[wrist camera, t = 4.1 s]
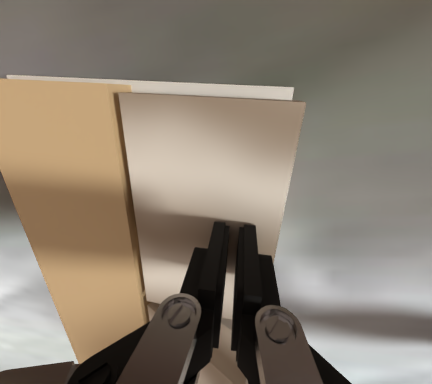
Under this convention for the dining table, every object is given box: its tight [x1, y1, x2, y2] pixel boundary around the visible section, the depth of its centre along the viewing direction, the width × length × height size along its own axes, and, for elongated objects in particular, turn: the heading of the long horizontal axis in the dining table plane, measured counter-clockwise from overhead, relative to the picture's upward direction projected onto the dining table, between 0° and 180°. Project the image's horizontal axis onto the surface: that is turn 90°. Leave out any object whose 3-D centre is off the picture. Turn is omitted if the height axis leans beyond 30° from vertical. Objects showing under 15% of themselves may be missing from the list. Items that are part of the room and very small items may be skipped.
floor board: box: [0, 75, 294, 364], centre depth 15 cm, size 25×14×4 cm, turn 178°
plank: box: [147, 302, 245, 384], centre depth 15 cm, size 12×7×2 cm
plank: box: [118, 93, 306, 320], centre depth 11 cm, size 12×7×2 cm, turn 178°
